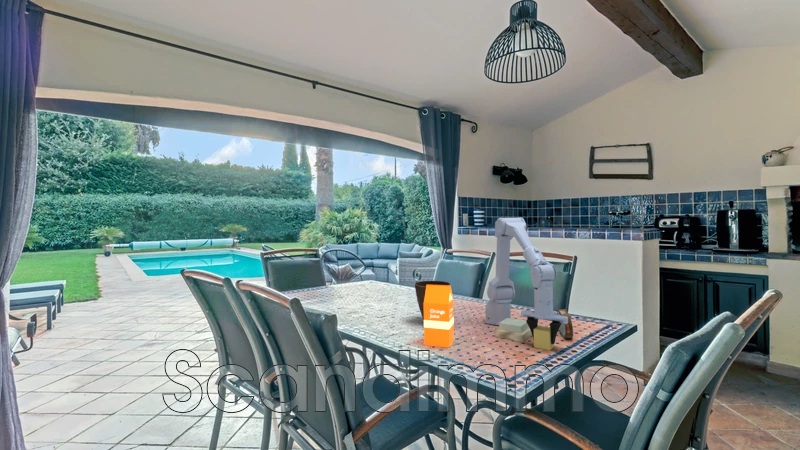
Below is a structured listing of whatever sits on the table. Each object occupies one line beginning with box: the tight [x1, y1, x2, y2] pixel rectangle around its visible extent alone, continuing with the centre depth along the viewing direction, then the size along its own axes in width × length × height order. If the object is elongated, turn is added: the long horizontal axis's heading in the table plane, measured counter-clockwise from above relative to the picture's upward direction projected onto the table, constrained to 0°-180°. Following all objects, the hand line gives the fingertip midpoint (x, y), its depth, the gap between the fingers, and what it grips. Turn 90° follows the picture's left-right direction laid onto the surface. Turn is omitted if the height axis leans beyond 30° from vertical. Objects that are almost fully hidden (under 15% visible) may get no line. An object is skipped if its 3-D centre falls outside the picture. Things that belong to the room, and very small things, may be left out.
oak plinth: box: [494, 327, 533, 343], centre depth 128 cm, size 10×10×2 cm
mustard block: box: [533, 325, 555, 351], centre depth 117 cm, size 5×5×6 cm
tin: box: [556, 308, 574, 339], centre depth 129 cm, size 15×3×8 cm, turn 166°
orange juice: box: [423, 285, 455, 348], centre depth 123 cm, size 8×9×20 cm
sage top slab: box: [498, 318, 529, 334], centre depth 128 cm, size 8×8×2 cm
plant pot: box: [414, 280, 451, 321], centre depth 148 cm, size 15×15×16 cm
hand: (544, 341), depth 117 cm, fingers closed on mustard block, 5 cm apart
